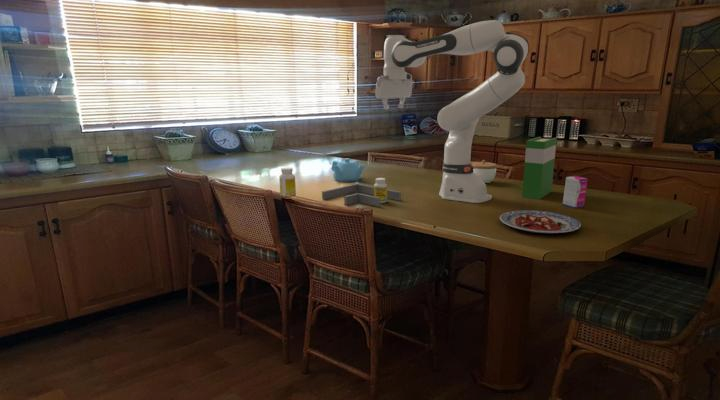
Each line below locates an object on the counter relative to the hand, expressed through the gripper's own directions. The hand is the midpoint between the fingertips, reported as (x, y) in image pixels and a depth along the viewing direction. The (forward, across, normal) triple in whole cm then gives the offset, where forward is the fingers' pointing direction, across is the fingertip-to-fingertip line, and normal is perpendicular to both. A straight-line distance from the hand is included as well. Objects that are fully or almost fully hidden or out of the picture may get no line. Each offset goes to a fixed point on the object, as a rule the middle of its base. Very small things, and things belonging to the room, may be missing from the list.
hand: (393, 108), depth 204 cm
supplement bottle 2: (+37, -18, -8) cm, 42 cm away
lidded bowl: (+37, +45, -19) cm, 61 cm away
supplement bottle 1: (+37, -40, +24) cm, 60 cm away
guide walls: (+37, -21, -1) cm, 42 cm away
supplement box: (+37, +30, -68) cm, 83 cm away
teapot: (+37, +5, +34) cm, 50 cm away
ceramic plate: (+38, -5, -70) cm, 80 cm away
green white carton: (+37, +39, -49) cm, 73 cm away
